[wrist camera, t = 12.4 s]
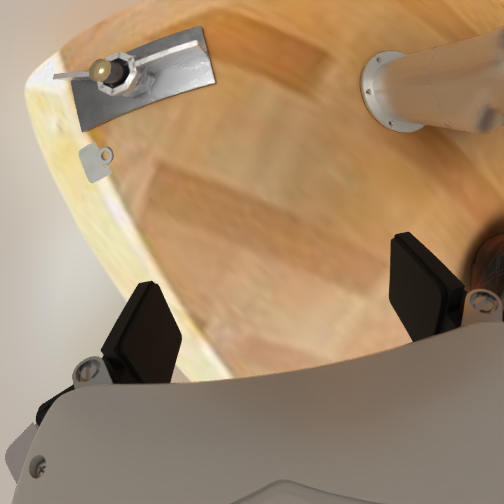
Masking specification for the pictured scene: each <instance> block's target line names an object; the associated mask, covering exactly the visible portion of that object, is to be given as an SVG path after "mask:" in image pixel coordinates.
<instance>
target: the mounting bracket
mask: <svg viewBox="0 0 504 504" xmlns="http://www.w3.org/2000/svg"><path fill="white" fill-rule="evenodd" d="M104 151H107V152H108V153H109V158H108V159H107V160H104V158H103V156H102V153H103V152H104ZM79 157H80V160H81V163H82V166H83V168H84V171H85V173H86V176H87V178H88V180H89V182H91V183H94V182H96V181H98V180H100V179H102V178H103V177H105V176H107V175H109V174H111V173H112V172H111V170H110V169H109V167H108V165H107V164H109V163H110V162H111V161H112V160H113V151H112V150H111V149H110V148H109V147H103V148H102V149H100V150H99V149H98V147H97V145H96V143H95V142H93V143H91V144H89V145H88V146H86V147H84V148H83V149H81V150H80V151H79Z"/></svg>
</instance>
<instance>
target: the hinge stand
mask: <svg viewBox="0 0 504 504" xmlns="http://www.w3.org/2000/svg"><path fill="white" fill-rule="evenodd" d="M131 55H135V56H137V57H140V58H141V59H140V60H139V59H138V58H136V57H133V56H131ZM104 60H108V61H111V62H115V63H118V62H120V61H123V60H126V61H128V63H126V64H125V65H124V66H128V67H129V69H130V74H129V76H128V77H127V79H126V81H125V83H124V84H123V85H119V84H117V85H118V87H116V88H114V87H112V86H110V83H105V82H98V81H93V80H79V81H73V80H72V81H71V85H72V90H73V95H74V100H75V105H76V109H77V114H78V118H79V122H80V126H81V130H82V132H86V131H88V130H91V129H93V128H95V127H97V126H99V125H101V124H103V123H105V122H108V121H110V120H112V119H114V118H117V117H119V116H121V115H124V114H126V113H129V112H131V111H134V110H136V109H139V108H141V107H144V106H147V105H149V104H152V103H155V102H158V101H160V100H163V99H166V98H169V97H172V96H175V95H178V94H182V93H185V92H188V91H191V90H195V89H198V88H202V87H205V86H209V85H213V84H216V81H215V77H214V73H213V69H212V65H211V61H210V57H209V53H208V49H207V45H206V41H205V37H204V33H203V29H202V27H201V26H198V27H195V28H191V29H188V30H185V31H182V32H178V33H175V34H172V35H169V36H167V37H164V38H161V39H158V40H156V41H153V42H150V43H148V44H145V45H143V46H140V47H138V48H136V49H133V50H131V51H129V52H126V53H123V52H121V51H119V52H117V53H115V54H112V55H110V56H108V57H106V58H104ZM145 67H147V68H148V73H147V77H146V82H145V85H144V86H143V87H142V88H140V89H139V90H138V91H137V92H136V93H134V94H133V95H132V96H129V95H122V94H125V93H127V92H129V91H132V90H134V88H135V86H136V84H137V83H138V81H139V79H140V77H141V76H142V70H141V69H142V68H145Z"/></svg>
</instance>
